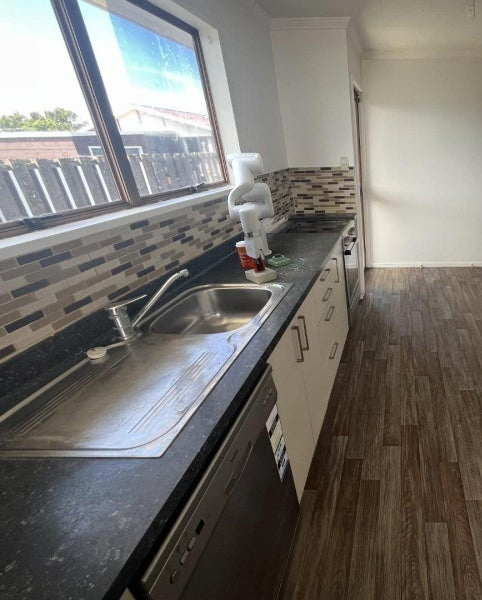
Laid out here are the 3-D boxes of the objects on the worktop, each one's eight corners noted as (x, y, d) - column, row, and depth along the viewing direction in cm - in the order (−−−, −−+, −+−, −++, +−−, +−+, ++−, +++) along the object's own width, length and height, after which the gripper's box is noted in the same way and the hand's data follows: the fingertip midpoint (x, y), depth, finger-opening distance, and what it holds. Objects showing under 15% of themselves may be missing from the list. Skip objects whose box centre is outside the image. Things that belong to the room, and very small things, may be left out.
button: (273, 257, 187) (273, 254, 187) (279, 256, 190) (278, 253, 189) (277, 258, 185) (276, 255, 185) (282, 257, 188) (282, 254, 187)
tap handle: (255, 272, 164) (253, 261, 161) (254, 272, 165) (251, 260, 162) (265, 269, 168) (263, 258, 165) (264, 269, 169) (261, 257, 166)
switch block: (267, 263, 189) (266, 257, 187) (281, 259, 195) (280, 253, 194) (277, 267, 183) (275, 260, 182) (291, 263, 189) (290, 256, 188)
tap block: (246, 278, 168) (244, 271, 166) (264, 273, 175) (262, 265, 173) (258, 284, 161) (257, 276, 159) (276, 278, 168) (275, 270, 166)
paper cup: (237, 268, 183) (231, 243, 177) (248, 263, 189) (243, 240, 183) (248, 269, 180) (242, 245, 174) (258, 265, 187) (253, 241, 181)
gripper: (236, 233, 160) (245, 268, 168) (253, 238, 151) (261, 275, 159) (251, 230, 165) (258, 264, 173) (268, 234, 156) (275, 271, 164)
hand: (259, 269), depth 166 cm, fingers closed on tap handle
